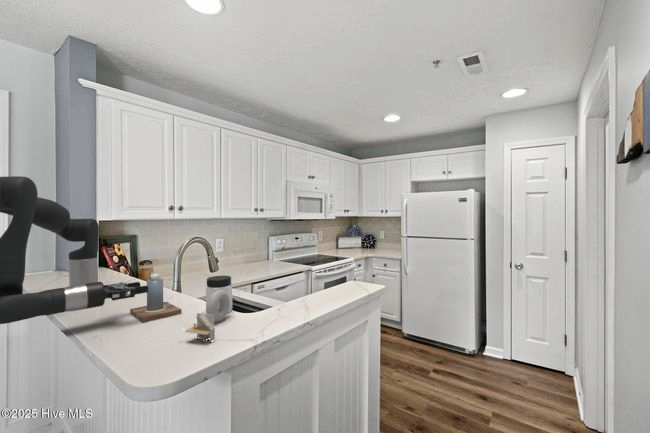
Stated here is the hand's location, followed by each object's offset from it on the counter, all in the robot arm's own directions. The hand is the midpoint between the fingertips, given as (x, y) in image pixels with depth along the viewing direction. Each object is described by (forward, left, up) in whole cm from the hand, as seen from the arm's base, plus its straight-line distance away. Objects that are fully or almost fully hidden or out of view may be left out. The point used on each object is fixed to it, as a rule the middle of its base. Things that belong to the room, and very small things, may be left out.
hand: (143, 286), depth 104 cm
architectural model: (+35, +5, -11) cm, 37 cm away
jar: (+15, +20, -10) cm, 27 cm away
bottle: (0, +4, -8) cm, 9 cm away
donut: (+24, +15, -10) cm, 30 cm away
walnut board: (0, +4, -10) cm, 11 cm away
